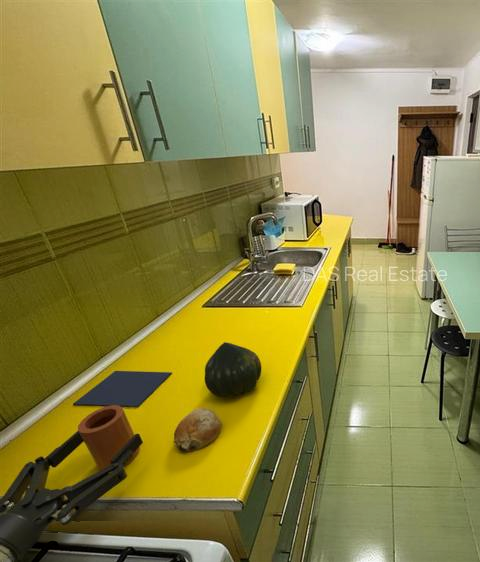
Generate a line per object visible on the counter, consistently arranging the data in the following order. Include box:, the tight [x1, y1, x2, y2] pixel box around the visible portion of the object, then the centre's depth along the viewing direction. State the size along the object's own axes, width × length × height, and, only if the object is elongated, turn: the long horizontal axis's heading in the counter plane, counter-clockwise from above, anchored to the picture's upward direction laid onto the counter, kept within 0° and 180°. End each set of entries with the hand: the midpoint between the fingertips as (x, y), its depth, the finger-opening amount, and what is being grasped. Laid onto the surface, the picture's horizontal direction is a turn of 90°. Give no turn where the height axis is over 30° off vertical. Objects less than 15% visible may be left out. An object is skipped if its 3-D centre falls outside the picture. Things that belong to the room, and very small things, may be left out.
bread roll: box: [173, 407, 223, 452], centre depth 74 cm, size 10×10×8 cm
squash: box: [204, 341, 263, 398], centre depth 88 cm, size 14×15×15 cm
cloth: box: [72, 370, 173, 408], centre depth 90 cm, size 19×14×1 cm
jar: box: [77, 405, 141, 473], centre depth 67 cm, size 7×7×12 cm
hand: (110, 436), depth 67 cm, fingers open, 13 cm apart
